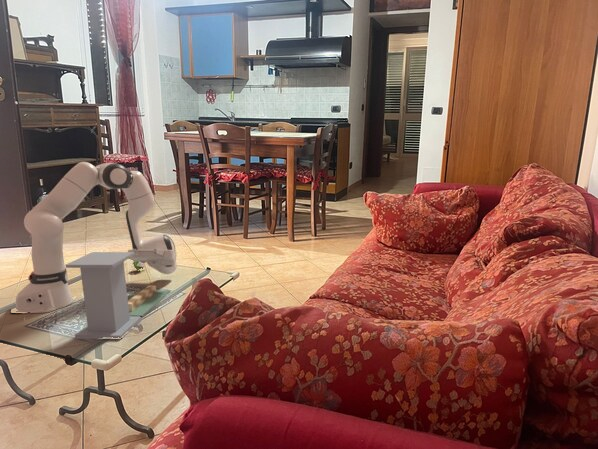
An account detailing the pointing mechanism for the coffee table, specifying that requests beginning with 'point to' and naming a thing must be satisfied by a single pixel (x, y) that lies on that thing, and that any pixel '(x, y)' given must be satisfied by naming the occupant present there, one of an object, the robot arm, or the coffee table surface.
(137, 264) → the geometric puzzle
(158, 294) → the mat
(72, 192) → the robot arm
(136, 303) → the checkered wooden bar
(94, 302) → the pedestal
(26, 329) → the coffee table surface
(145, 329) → the coffee table surface
